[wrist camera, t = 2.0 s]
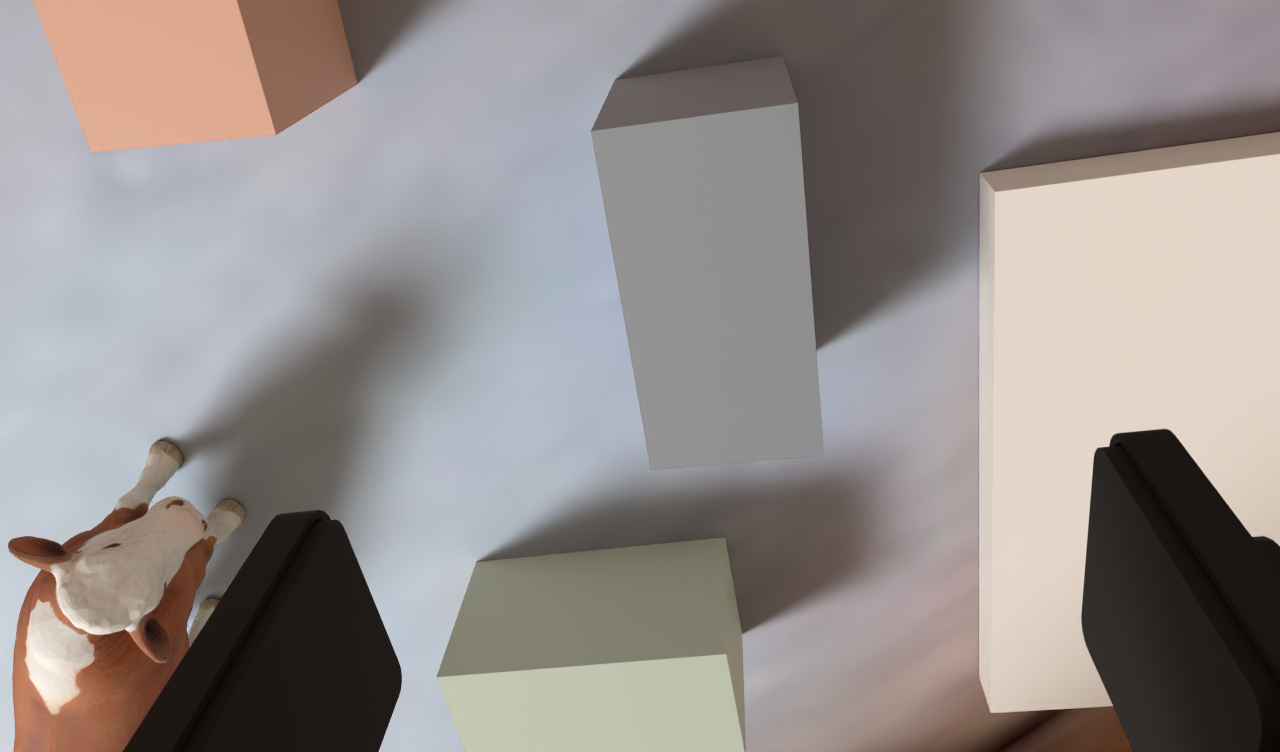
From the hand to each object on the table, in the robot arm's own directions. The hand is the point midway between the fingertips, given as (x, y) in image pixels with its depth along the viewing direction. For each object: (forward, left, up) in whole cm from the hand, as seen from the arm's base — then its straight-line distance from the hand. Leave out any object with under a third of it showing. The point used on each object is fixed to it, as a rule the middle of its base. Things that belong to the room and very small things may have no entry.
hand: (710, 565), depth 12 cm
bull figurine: (-9, +18, -14) cm, 24 cm away
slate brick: (-1, 0, -14) cm, 14 cm away
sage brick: (-13, +5, -14) cm, 20 cm away
